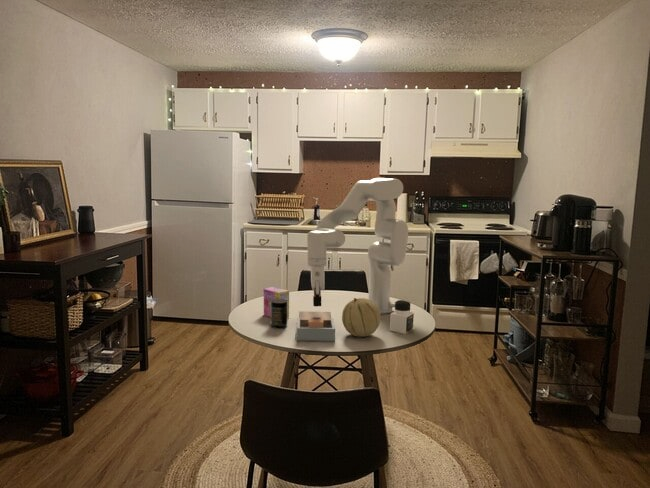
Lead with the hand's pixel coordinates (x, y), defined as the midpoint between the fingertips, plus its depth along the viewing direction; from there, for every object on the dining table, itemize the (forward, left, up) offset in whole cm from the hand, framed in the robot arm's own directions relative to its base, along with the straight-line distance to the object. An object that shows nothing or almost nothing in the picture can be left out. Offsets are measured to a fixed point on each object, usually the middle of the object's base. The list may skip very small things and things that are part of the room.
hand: (317, 305), depth 201 cm
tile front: (+1, +14, -4) cm, 15 cm away
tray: (+1, +14, -8) cm, 16 cm away
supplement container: (+15, +3, -8) cm, 18 cm away
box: (+17, -11, -8) cm, 22 cm away
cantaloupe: (-16, +14, -8) cm, 23 cm away
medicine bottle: (-34, +6, -8) cm, 35 cm away
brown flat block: (+1, +1, -8) cm, 8 cm away
